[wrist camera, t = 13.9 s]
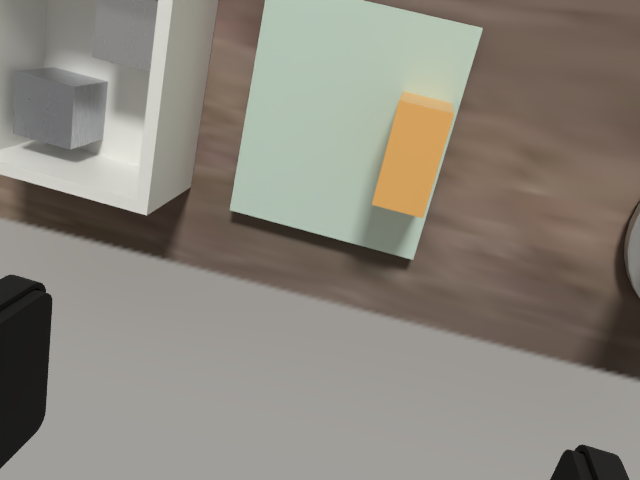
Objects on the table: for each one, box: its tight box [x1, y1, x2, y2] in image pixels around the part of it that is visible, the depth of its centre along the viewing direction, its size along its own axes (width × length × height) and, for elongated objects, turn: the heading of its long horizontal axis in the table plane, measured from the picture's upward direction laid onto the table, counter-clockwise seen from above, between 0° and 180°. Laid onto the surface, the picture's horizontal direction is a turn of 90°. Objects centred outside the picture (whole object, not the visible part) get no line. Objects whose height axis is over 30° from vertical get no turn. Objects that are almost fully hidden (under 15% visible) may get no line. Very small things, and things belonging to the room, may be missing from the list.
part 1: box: [13, 67, 108, 150], centre depth 39 cm, size 4×4×4 cm
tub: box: [0, 0, 218, 215], centre depth 37 cm, size 12×14×7 cm
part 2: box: [92, 0, 158, 72], centre depth 36 cm, size 4×4×4 cm
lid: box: [230, 0, 483, 260], centre depth 36 cm, size 13×15×7 cm
